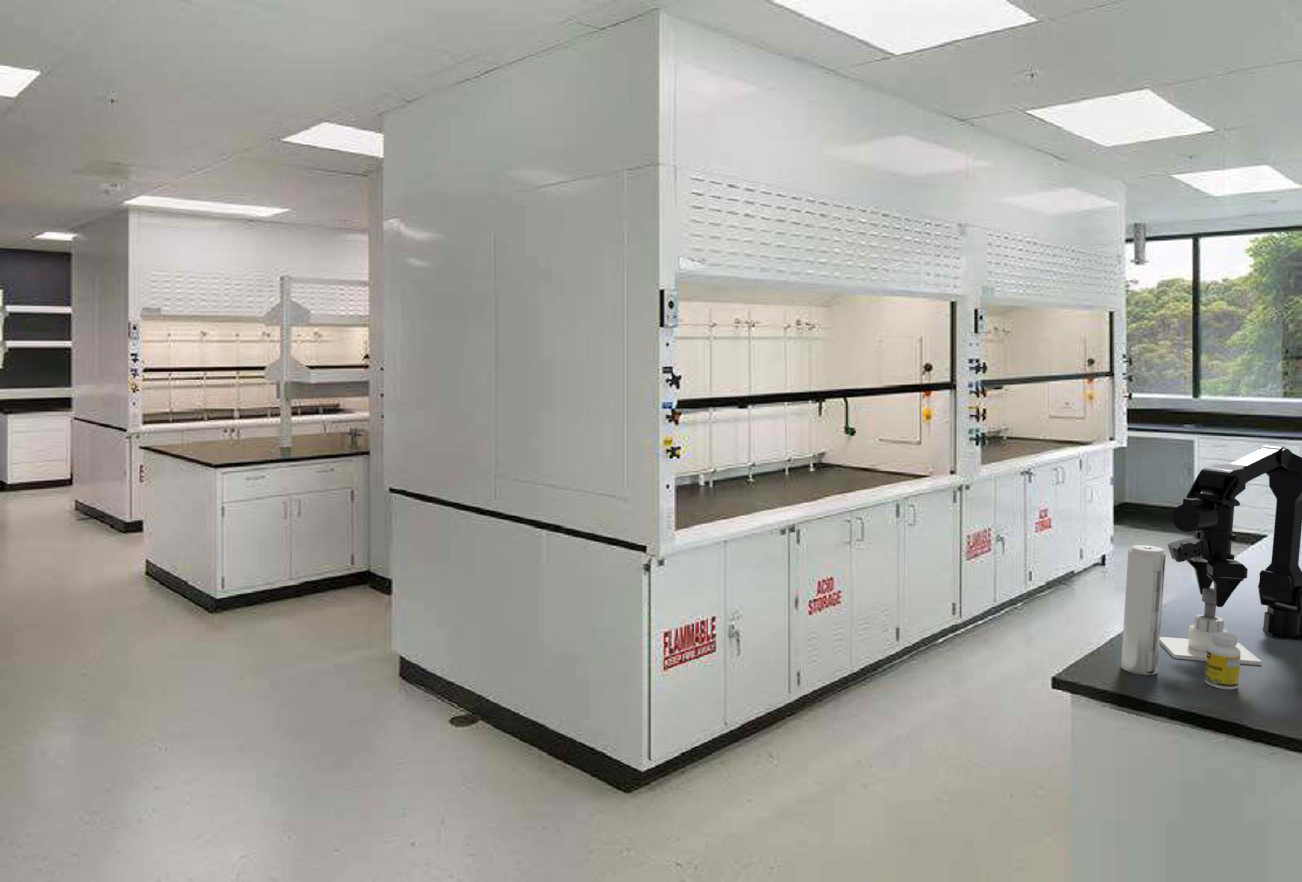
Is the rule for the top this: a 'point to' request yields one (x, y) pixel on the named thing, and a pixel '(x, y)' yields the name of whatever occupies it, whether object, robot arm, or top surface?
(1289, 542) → the robot arm
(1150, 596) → the white tall cylinder
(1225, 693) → the top surface
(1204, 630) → the white tiered cylinder
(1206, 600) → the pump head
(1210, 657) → the supplement bottle
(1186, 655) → the tray
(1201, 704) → the top surface
